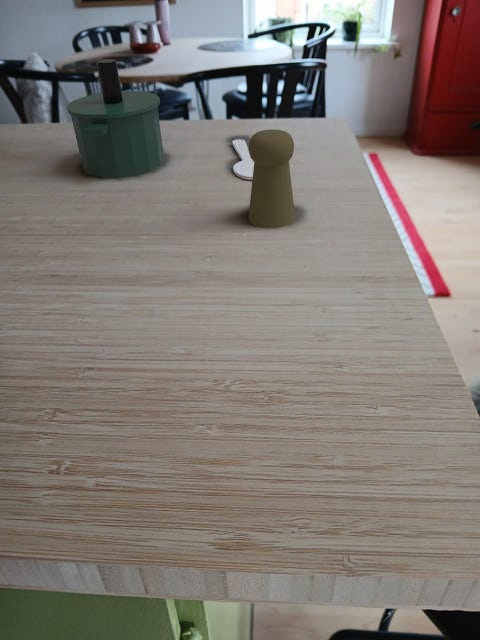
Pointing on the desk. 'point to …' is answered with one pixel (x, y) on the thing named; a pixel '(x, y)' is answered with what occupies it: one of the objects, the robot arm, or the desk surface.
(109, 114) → the pot lid
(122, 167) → the cooker pot
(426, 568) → the desk surface
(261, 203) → the pepper mill
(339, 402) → the desk surface
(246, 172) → the spoon
